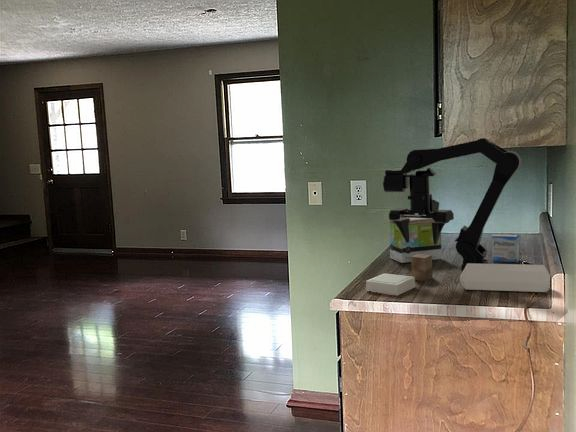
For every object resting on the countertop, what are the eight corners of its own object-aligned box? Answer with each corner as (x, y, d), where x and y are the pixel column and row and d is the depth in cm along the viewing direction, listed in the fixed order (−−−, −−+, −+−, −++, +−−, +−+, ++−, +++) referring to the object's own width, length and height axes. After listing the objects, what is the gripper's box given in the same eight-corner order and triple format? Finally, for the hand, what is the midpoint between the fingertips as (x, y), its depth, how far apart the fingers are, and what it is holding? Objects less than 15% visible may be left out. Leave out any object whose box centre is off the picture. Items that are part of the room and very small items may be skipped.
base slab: (415, 287, 171) (414, 276, 171) (397, 295, 163) (396, 284, 163) (384, 283, 177) (384, 272, 177) (366, 291, 170) (365, 280, 169)
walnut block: (432, 277, 181) (431, 255, 180) (425, 281, 177) (424, 258, 176) (419, 276, 184) (418, 253, 183) (411, 279, 180) (411, 256, 179)
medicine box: (491, 261, 197) (491, 236, 196) (494, 259, 201) (493, 233, 199) (517, 263, 193) (517, 236, 192) (519, 260, 197) (518, 234, 196)
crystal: (457, 279, 162) (553, 282, 154) (459, 261, 168) (552, 263, 159) (459, 298, 167) (553, 302, 158) (460, 280, 172) (551, 283, 163)
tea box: (402, 264, 201) (401, 220, 199) (389, 258, 211) (388, 217, 209) (442, 259, 205) (441, 216, 203) (428, 254, 215) (427, 213, 213)
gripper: (461, 189, 177) (462, 240, 179) (405, 188, 189) (406, 237, 191) (444, 193, 169) (445, 247, 171) (386, 192, 181) (388, 243, 183)
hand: (421, 243), depth 179 cm, fingers open, 9 cm apart
